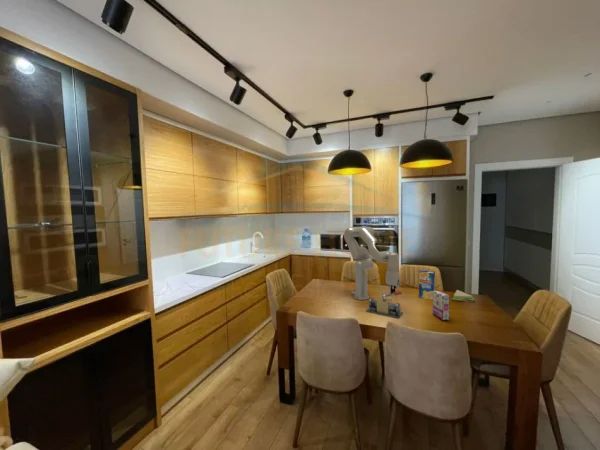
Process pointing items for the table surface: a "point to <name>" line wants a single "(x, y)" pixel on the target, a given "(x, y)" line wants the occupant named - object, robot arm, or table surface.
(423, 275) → the blue cereal box
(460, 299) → the sandwich
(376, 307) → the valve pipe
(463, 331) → the table surface
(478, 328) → the table surface
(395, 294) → the valve lever
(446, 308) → the candy bar box
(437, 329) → the table surface
